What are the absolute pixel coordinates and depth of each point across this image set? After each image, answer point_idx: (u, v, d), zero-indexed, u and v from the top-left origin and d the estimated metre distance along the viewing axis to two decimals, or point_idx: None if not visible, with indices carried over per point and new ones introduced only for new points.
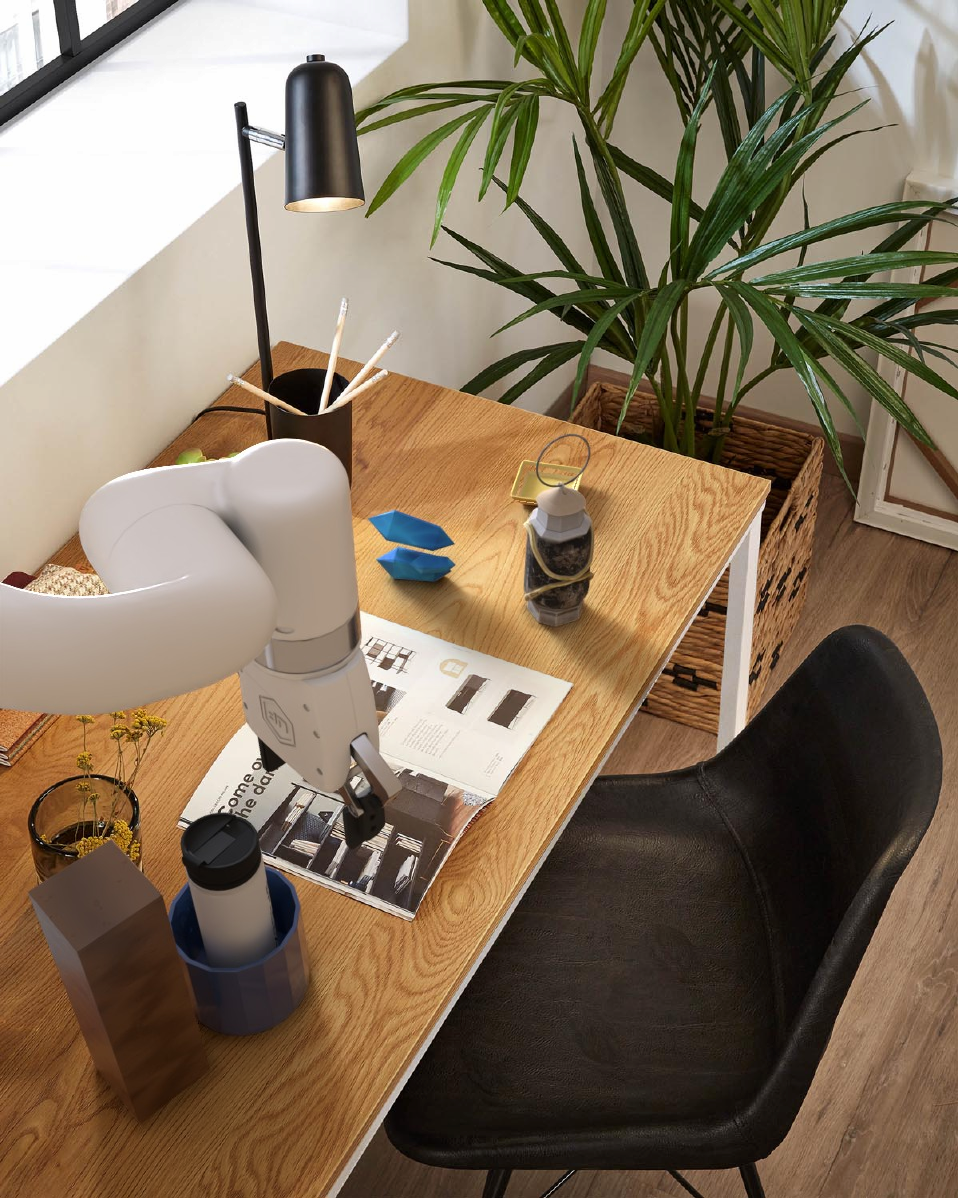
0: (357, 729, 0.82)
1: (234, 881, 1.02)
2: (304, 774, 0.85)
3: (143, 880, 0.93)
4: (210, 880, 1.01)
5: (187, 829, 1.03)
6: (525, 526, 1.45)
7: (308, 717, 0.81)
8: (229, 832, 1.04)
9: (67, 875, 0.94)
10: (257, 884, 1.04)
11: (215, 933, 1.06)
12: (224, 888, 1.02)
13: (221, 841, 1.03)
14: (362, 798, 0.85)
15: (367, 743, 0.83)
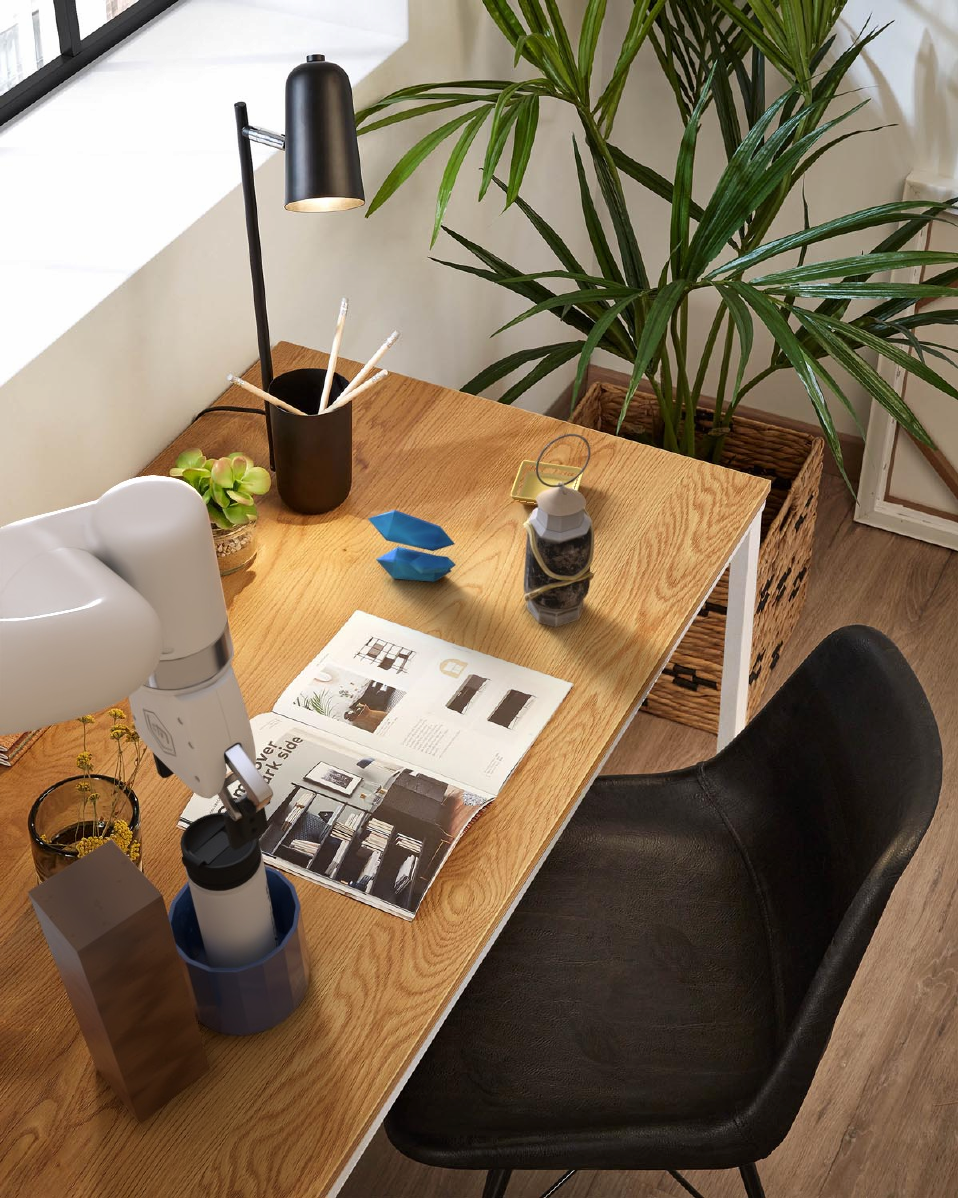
0: (230, 740, 0.89)
1: (234, 881, 1.02)
2: (186, 781, 0.92)
3: (143, 880, 0.93)
4: (210, 880, 1.01)
5: (187, 829, 1.03)
6: (525, 526, 1.45)
7: (182, 729, 0.87)
8: None
9: (67, 875, 0.94)
10: (257, 884, 1.04)
11: (215, 933, 1.06)
12: (224, 888, 1.02)
13: (221, 841, 1.03)
14: (239, 803, 0.92)
15: (240, 752, 0.90)
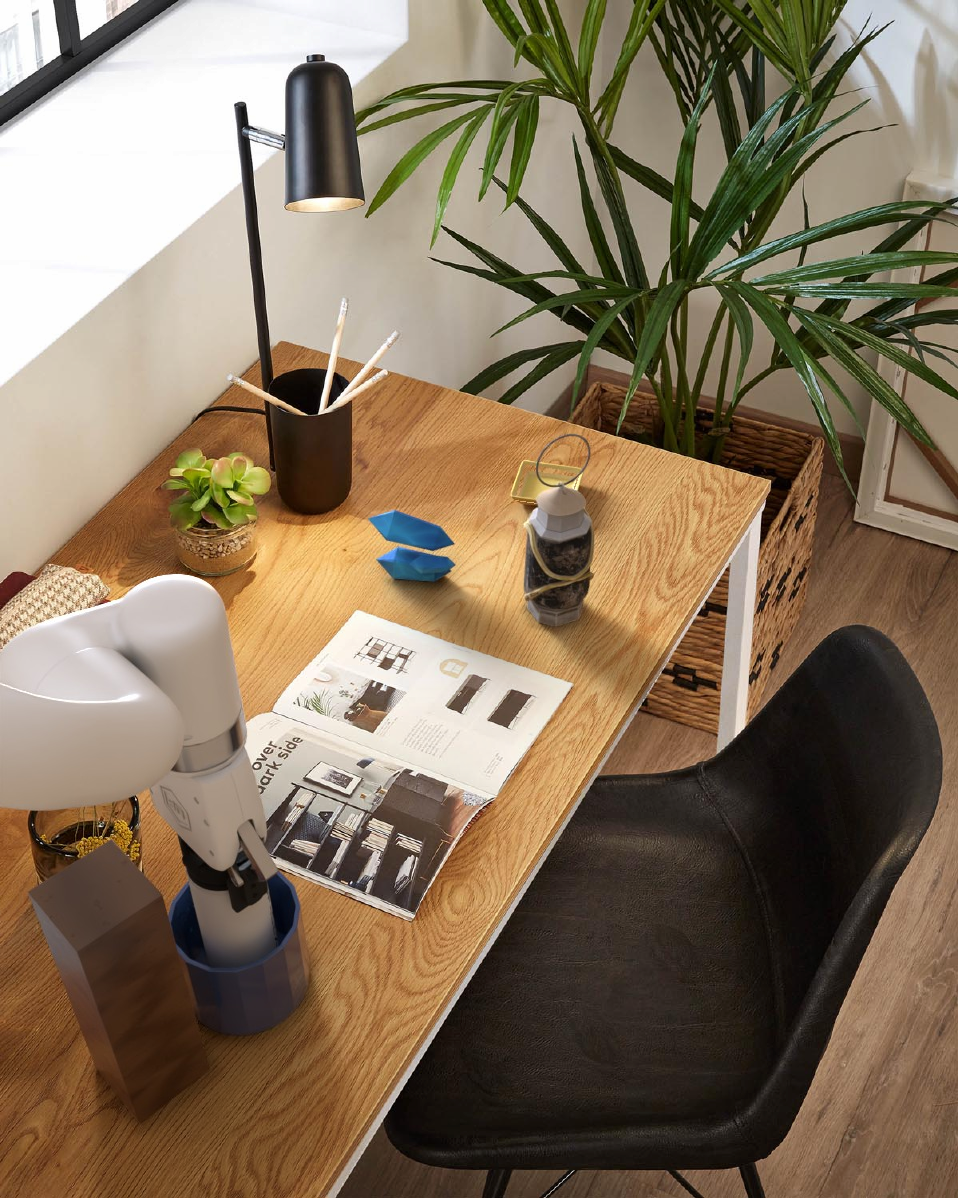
0: (243, 817, 0.95)
1: None
2: (200, 854, 0.97)
3: (143, 880, 0.93)
4: (210, 880, 1.01)
5: None
6: (525, 526, 1.45)
7: (198, 808, 0.93)
8: None
9: (67, 875, 0.94)
10: None
11: (215, 933, 1.06)
12: (224, 888, 1.02)
13: None
14: (241, 871, 0.98)
15: (252, 832, 0.96)
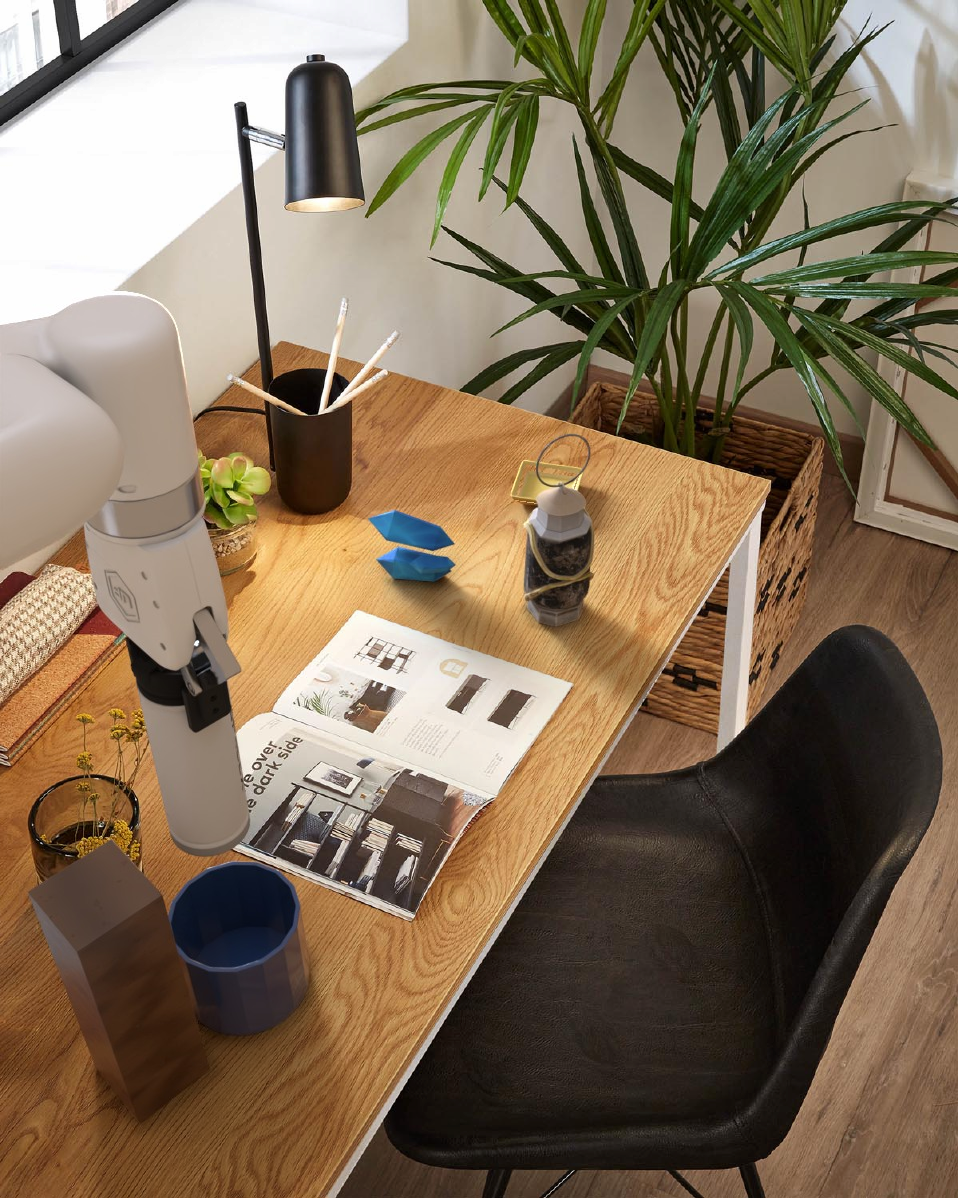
0: (200, 601, 0.81)
1: None
2: (150, 652, 0.83)
3: (143, 880, 0.93)
4: (164, 692, 0.87)
5: None
6: (525, 526, 1.45)
7: (147, 586, 0.79)
8: None
9: (67, 875, 0.94)
10: None
11: (171, 763, 0.92)
12: (180, 703, 0.87)
13: None
14: (199, 675, 0.84)
15: (211, 622, 0.82)
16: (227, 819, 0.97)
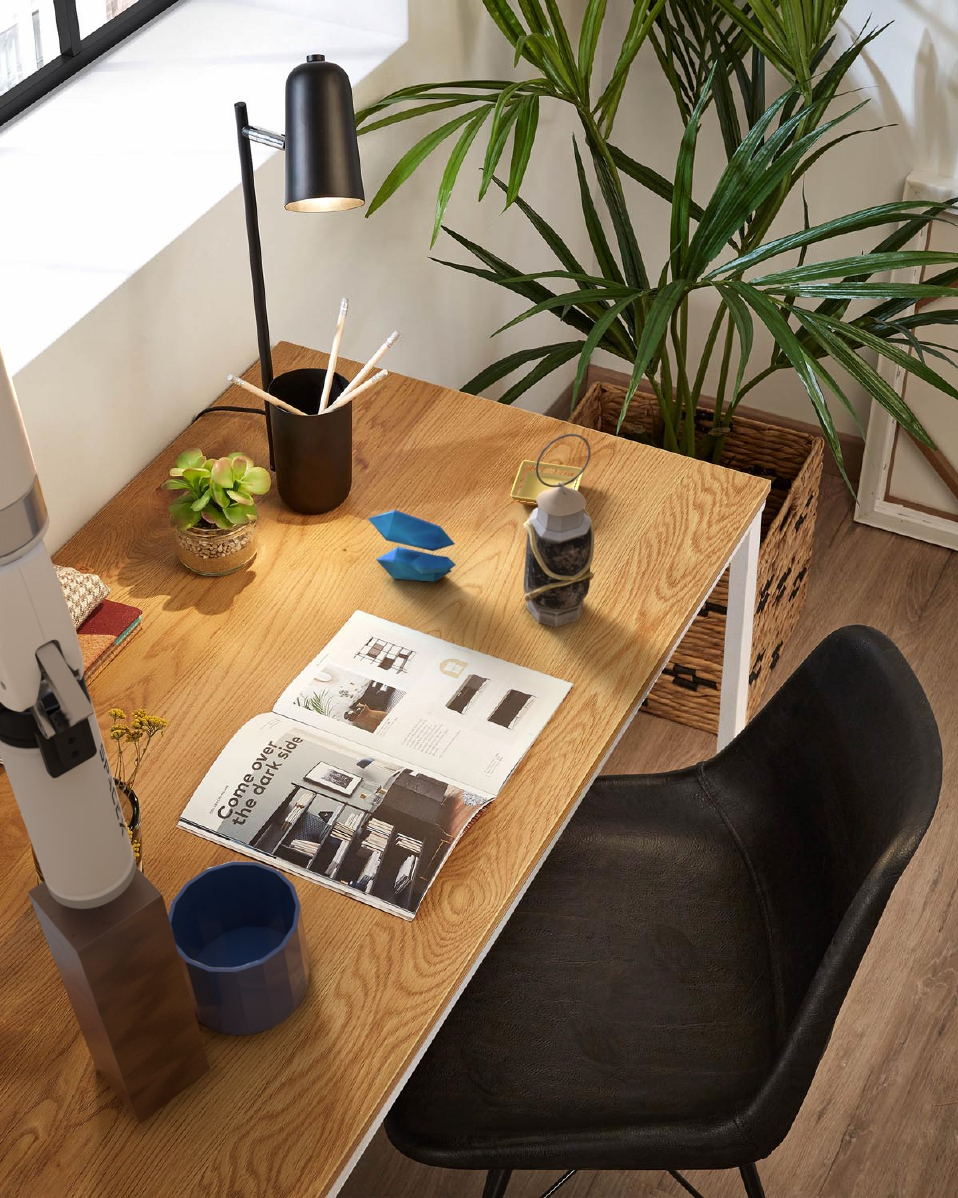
0: (43, 635, 0.71)
1: None
2: None
3: (143, 880, 0.93)
4: (16, 733, 0.77)
5: None
6: (525, 526, 1.45)
7: None
8: None
9: None
10: None
11: (33, 809, 0.82)
12: (35, 745, 0.78)
13: None
14: (50, 716, 0.75)
15: (58, 658, 0.72)
16: (104, 868, 0.87)
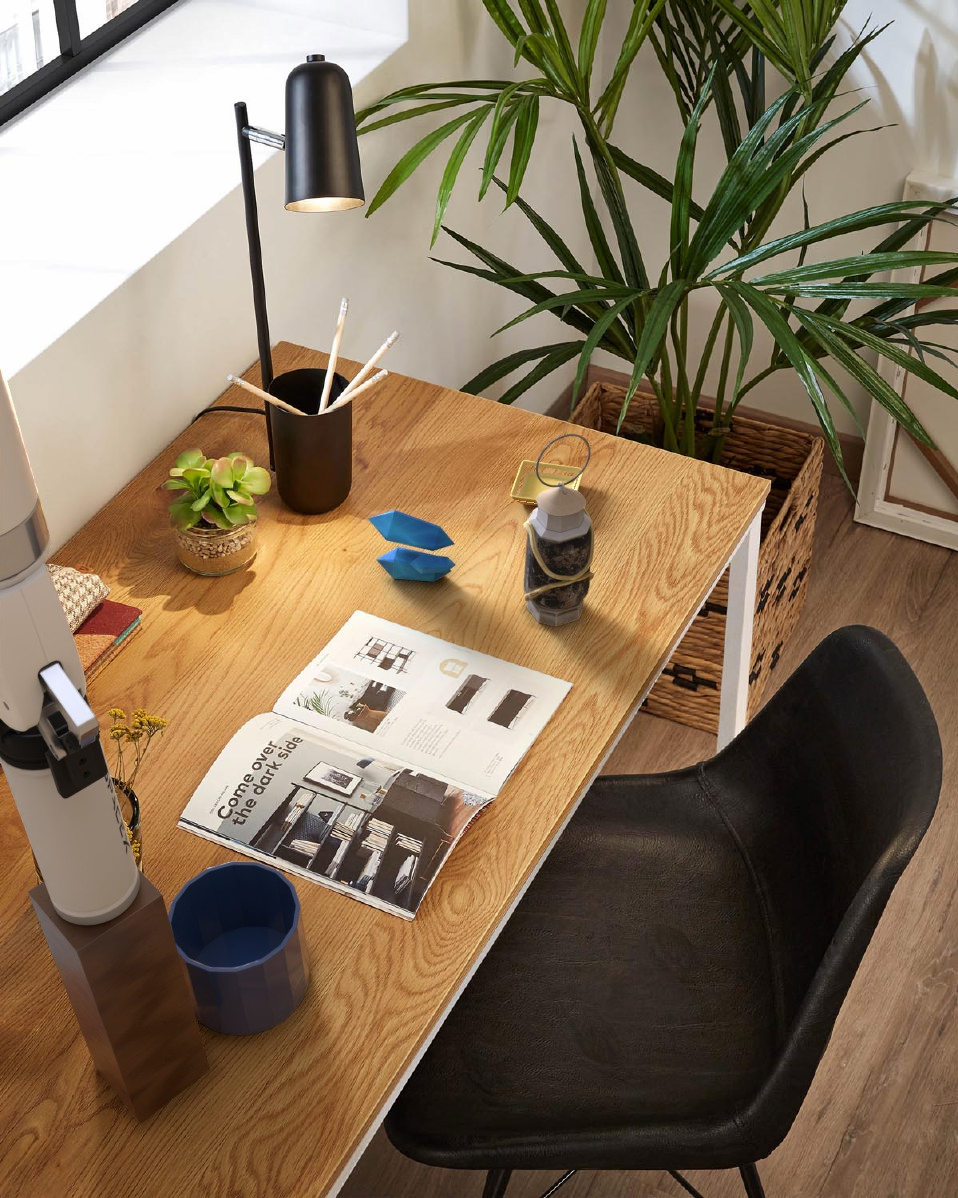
0: (45, 656, 0.72)
1: None
2: None
3: (143, 880, 0.93)
4: (21, 755, 0.78)
5: None
6: (525, 526, 1.45)
7: None
8: None
9: None
10: None
11: (38, 829, 0.83)
12: (40, 766, 0.79)
13: None
14: (62, 737, 0.74)
15: (60, 673, 0.72)
16: (108, 885, 0.88)
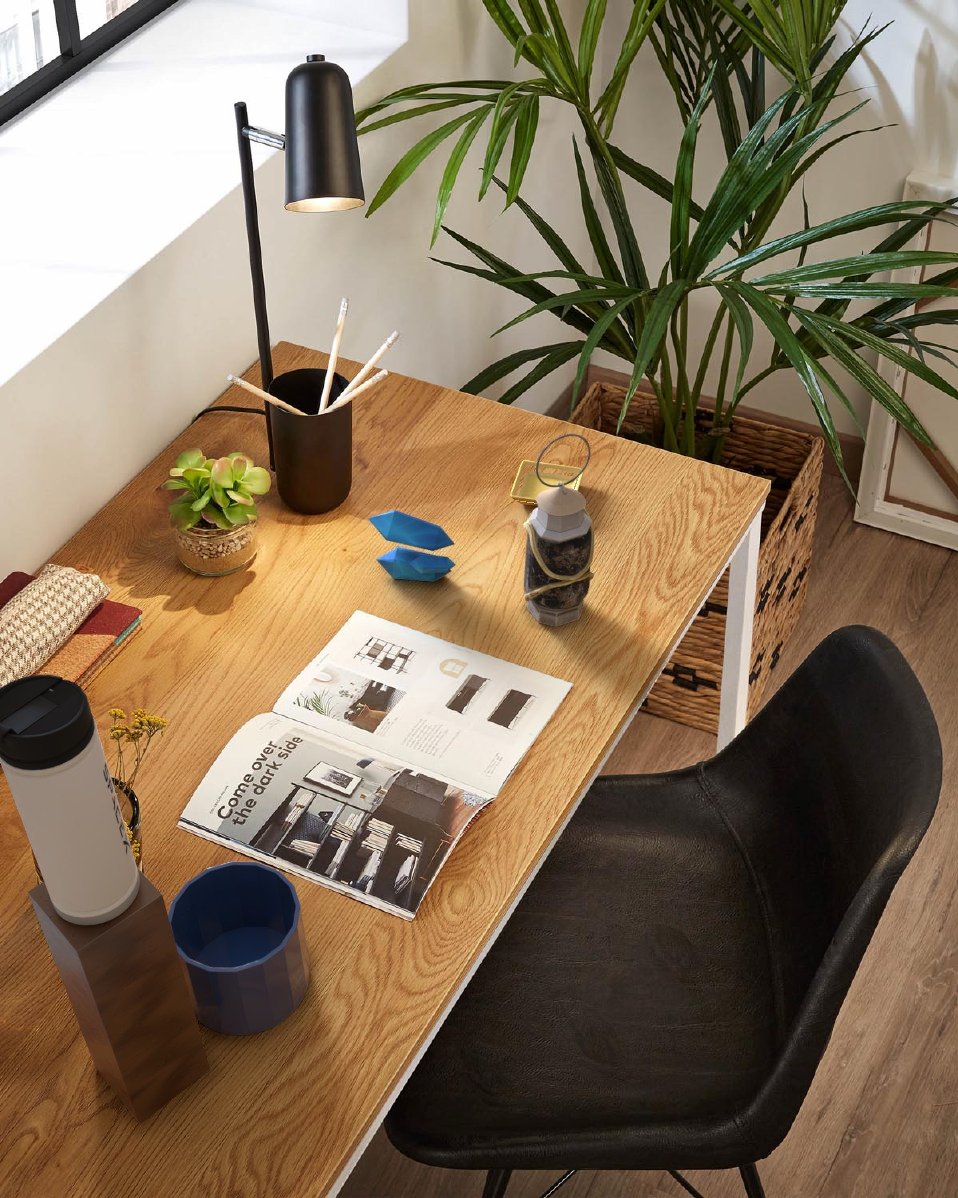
0: None
1: (53, 757, 0.79)
2: None
3: (143, 880, 0.93)
4: (21, 755, 0.78)
5: None
6: (525, 526, 1.45)
7: None
8: (52, 698, 0.81)
9: None
10: (88, 764, 0.81)
11: (38, 829, 0.83)
12: (40, 767, 0.79)
13: (40, 707, 0.80)
14: None
15: None
16: (108, 885, 0.88)
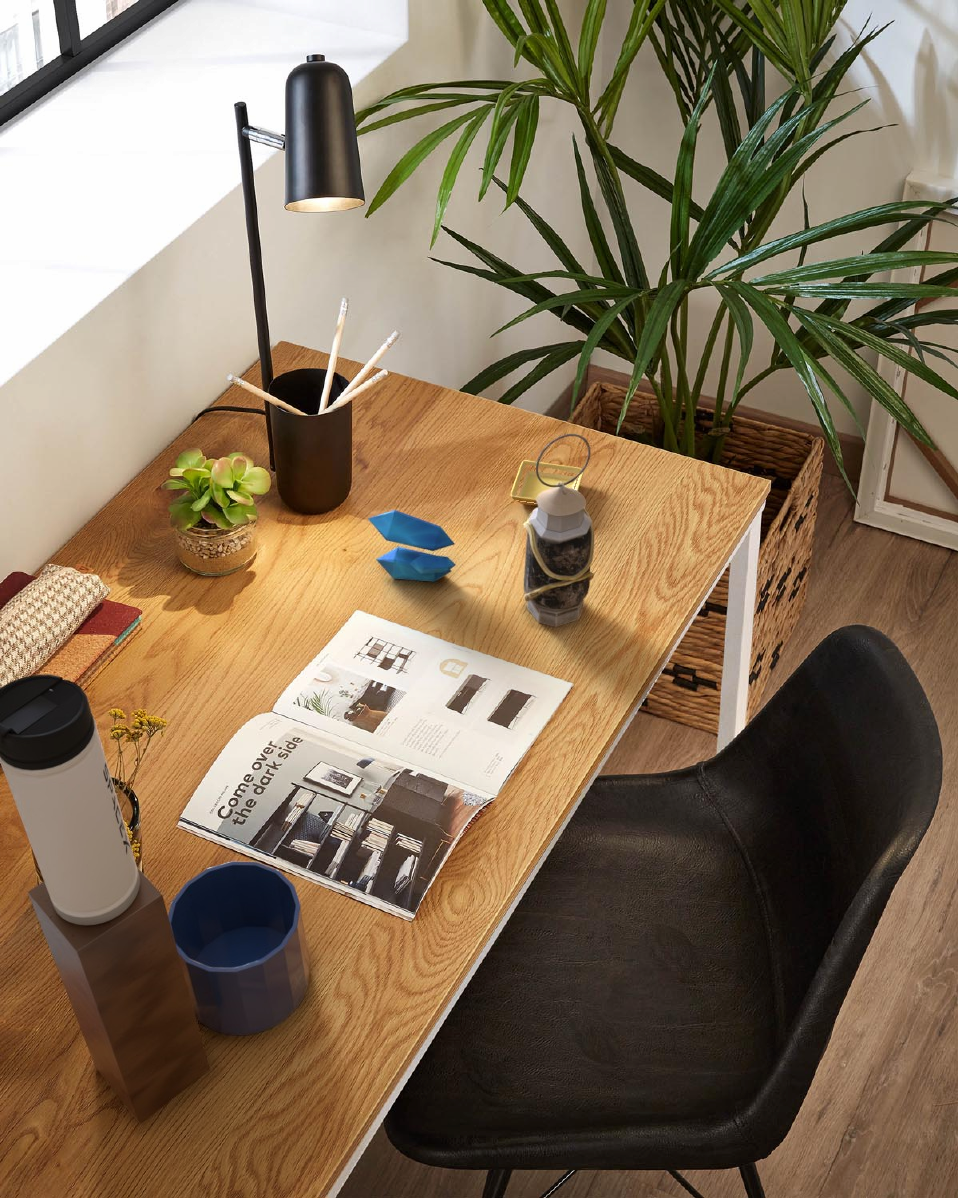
0: None
1: (53, 757, 0.79)
2: None
3: (143, 880, 0.93)
4: (21, 755, 0.78)
5: None
6: (525, 526, 1.45)
7: None
8: (52, 698, 0.81)
9: None
10: (88, 764, 0.81)
11: (38, 829, 0.83)
12: (40, 766, 0.79)
13: (40, 707, 0.80)
14: None
15: None
16: (108, 885, 0.88)
